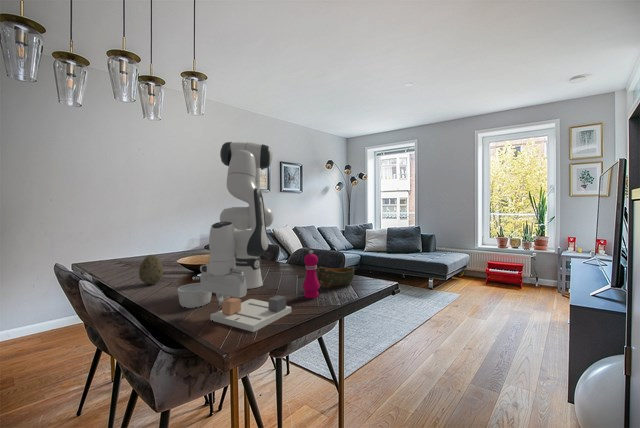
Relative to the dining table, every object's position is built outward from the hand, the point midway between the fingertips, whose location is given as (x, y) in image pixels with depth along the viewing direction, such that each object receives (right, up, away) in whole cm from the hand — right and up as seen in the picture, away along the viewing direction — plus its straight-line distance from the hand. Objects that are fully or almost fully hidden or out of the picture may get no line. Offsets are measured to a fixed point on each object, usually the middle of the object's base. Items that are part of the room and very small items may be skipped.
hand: (223, 306), depth 107 cm
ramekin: (-16, -4, +14) cm, 22 cm away
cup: (+41, -3, +38) cm, 57 cm away
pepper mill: (+31, -3, +23) cm, 38 cm away
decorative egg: (-52, -3, +46) cm, 69 cm away
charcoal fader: (+19, -1, 0) cm, 19 cm away
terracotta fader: (+3, -1, -2) cm, 4 cm away
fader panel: (+10, -4, 0) cm, 11 cm away
